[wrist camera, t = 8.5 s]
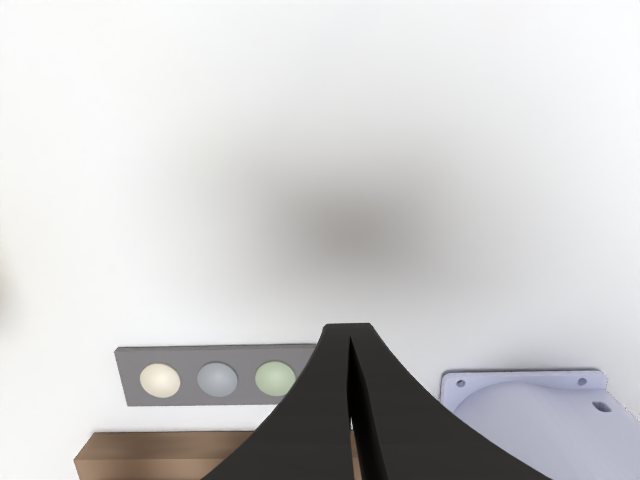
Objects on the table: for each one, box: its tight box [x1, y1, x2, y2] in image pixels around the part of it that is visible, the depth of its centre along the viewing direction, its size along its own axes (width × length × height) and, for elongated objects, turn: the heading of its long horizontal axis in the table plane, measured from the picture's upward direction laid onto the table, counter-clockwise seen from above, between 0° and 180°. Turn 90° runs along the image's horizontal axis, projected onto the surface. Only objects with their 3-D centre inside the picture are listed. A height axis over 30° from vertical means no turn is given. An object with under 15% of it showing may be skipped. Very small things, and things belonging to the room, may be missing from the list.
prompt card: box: [114, 344, 316, 406], centre depth 22 cm, size 12×4×1 cm, turn 92°
